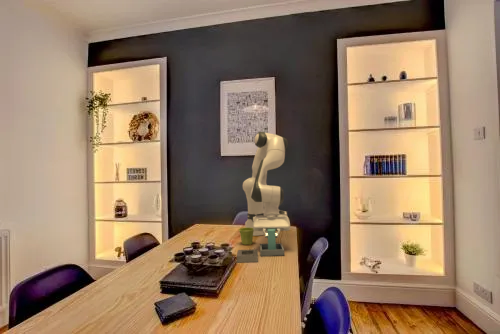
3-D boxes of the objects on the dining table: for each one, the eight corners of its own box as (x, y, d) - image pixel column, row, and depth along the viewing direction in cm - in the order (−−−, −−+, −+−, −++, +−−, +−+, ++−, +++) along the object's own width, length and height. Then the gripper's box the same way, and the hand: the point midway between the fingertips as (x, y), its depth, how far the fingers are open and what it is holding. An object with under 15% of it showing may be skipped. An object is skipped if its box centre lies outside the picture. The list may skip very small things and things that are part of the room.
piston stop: (268, 247, 137) (267, 228, 138) (275, 247, 137) (275, 228, 137) (268, 250, 133) (267, 230, 134) (275, 249, 133) (275, 230, 133)
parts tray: (260, 249, 141) (259, 243, 141) (281, 248, 141) (281, 243, 141) (260, 256, 129) (260, 250, 129) (284, 255, 129) (284, 249, 129)
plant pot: (248, 246, 147) (248, 231, 147) (235, 244, 153) (235, 229, 153) (257, 243, 154) (257, 228, 155) (245, 240, 160) (245, 226, 160)
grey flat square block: (238, 255, 131) (237, 249, 132) (257, 255, 131) (257, 249, 131) (236, 262, 121) (236, 256, 122) (257, 262, 121) (257, 255, 121)
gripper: (252, 212, 144) (251, 234, 134) (289, 211, 142) (290, 233, 132) (253, 218, 148) (252, 240, 138) (289, 218, 146) (290, 240, 136)
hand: (271, 237), depth 135 cm, fingers closed on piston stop, 4 cm apart
